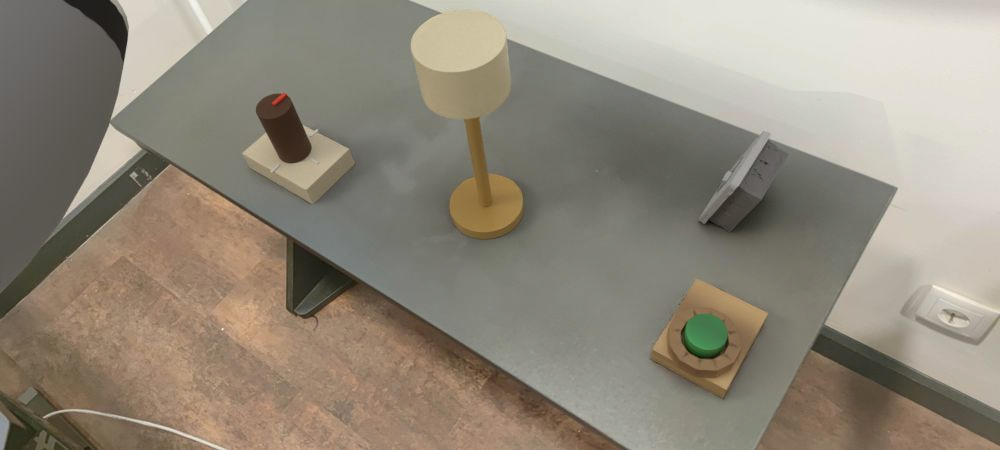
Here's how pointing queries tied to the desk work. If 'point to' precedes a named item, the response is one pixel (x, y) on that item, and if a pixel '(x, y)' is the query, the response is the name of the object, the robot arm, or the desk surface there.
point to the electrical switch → (745, 183)
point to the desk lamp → (470, 109)
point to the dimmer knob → (283, 127)
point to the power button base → (741, 336)
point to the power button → (705, 335)
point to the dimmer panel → (302, 165)
